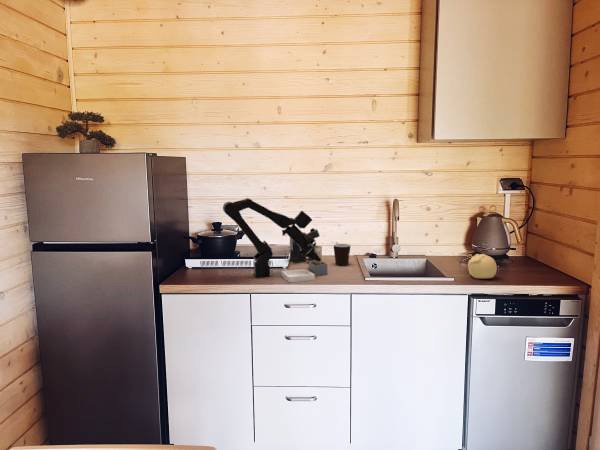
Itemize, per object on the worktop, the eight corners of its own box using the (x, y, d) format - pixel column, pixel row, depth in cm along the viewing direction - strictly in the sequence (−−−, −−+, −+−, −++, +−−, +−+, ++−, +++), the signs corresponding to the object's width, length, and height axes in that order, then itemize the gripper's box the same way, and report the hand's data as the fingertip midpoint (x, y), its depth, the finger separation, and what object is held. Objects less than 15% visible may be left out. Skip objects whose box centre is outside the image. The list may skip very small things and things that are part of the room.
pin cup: (313, 275, 206) (313, 265, 205) (308, 272, 212) (308, 262, 212) (327, 274, 208) (327, 264, 207) (322, 271, 214) (322, 261, 214)
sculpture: (468, 273, 208) (470, 250, 206) (497, 276, 202) (498, 252, 201) (465, 279, 198) (466, 255, 196) (495, 282, 192) (496, 257, 191)
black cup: (344, 267, 222) (344, 247, 220) (330, 265, 227) (330, 245, 225) (356, 263, 231) (356, 243, 229) (342, 260, 236) (342, 242, 234)
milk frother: (288, 259, 241) (287, 232, 239) (316, 257, 244) (316, 231, 242) (292, 265, 227) (291, 236, 225) (322, 263, 230) (322, 235, 228)
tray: (289, 282, 195) (288, 277, 194) (281, 276, 206) (281, 270, 206) (314, 280, 199) (314, 274, 198) (306, 273, 210) (305, 268, 209)
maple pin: (315, 274, 208) (315, 247, 206) (313, 272, 211) (313, 246, 209) (323, 274, 209) (322, 246, 207) (320, 272, 212) (320, 245, 210)
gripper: (307, 226, 198) (332, 251, 198) (310, 221, 216) (333, 243, 217) (290, 244, 200) (315, 268, 200) (294, 237, 218) (317, 259, 219)
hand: (320, 259), depth 209 cm, fingers open, 7 cm apart
